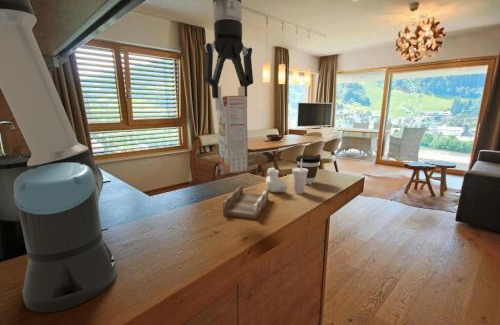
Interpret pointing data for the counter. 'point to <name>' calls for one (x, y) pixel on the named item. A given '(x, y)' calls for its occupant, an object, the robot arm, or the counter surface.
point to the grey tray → (244, 204)
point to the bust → (275, 181)
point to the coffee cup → (309, 166)
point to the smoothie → (299, 179)
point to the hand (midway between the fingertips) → (230, 110)
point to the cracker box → (233, 134)
